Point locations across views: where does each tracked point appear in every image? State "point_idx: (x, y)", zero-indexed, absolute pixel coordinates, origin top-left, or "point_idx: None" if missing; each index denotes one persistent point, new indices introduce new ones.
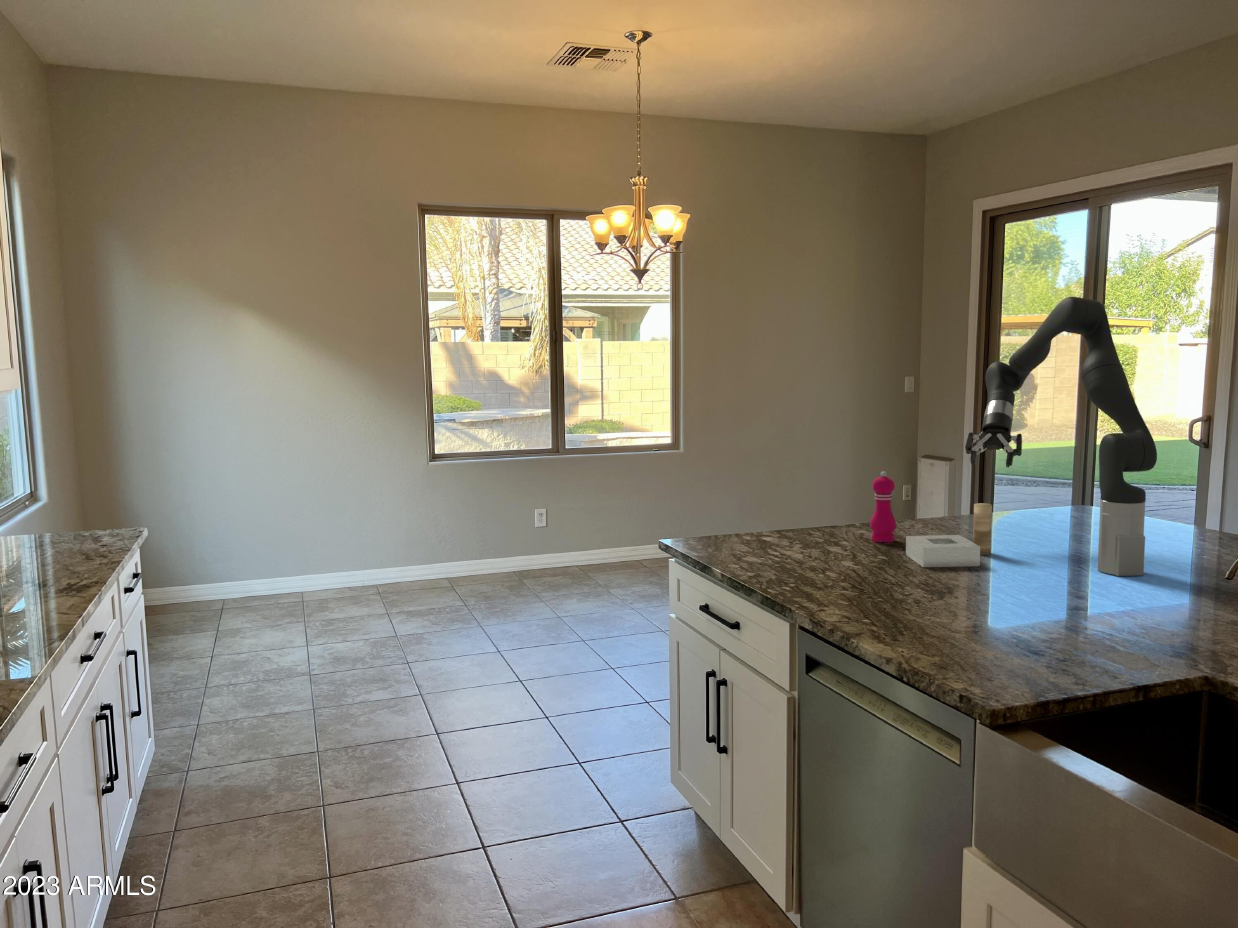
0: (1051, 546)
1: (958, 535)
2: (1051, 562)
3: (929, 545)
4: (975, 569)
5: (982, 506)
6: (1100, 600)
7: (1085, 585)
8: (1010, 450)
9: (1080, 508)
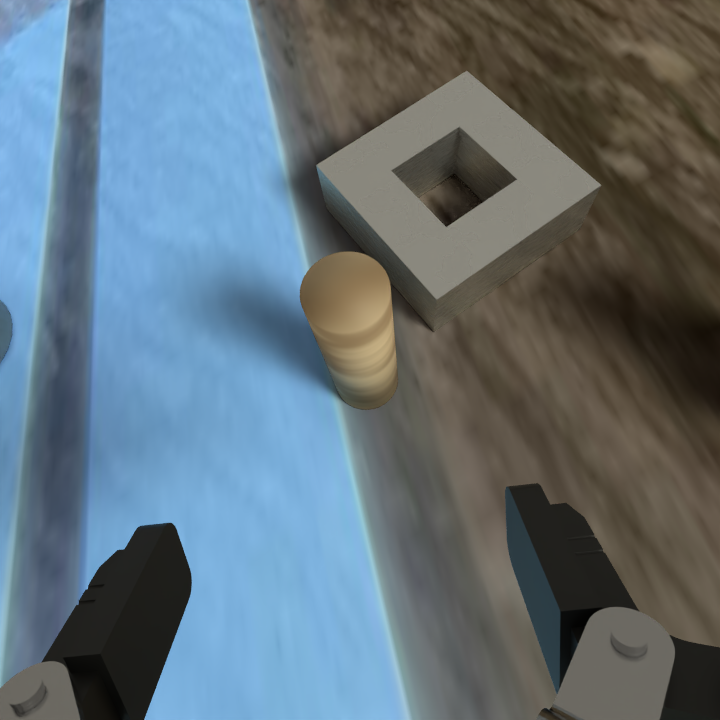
0: None
1: (436, 289)
2: (138, 359)
3: (463, 103)
4: None
5: (337, 253)
6: (39, 76)
7: (59, 165)
8: (36, 678)
9: None
